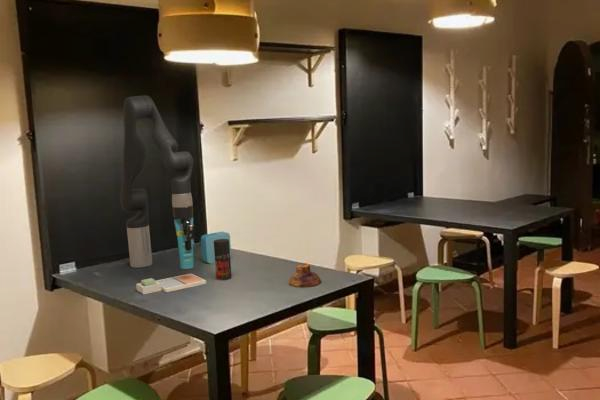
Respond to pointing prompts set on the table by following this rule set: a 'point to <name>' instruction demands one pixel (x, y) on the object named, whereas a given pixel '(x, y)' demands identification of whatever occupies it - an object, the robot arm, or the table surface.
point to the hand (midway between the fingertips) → (186, 248)
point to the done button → (148, 282)
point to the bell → (304, 277)
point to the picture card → (180, 282)
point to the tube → (185, 255)
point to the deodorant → (222, 259)
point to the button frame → (148, 288)
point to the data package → (212, 245)
